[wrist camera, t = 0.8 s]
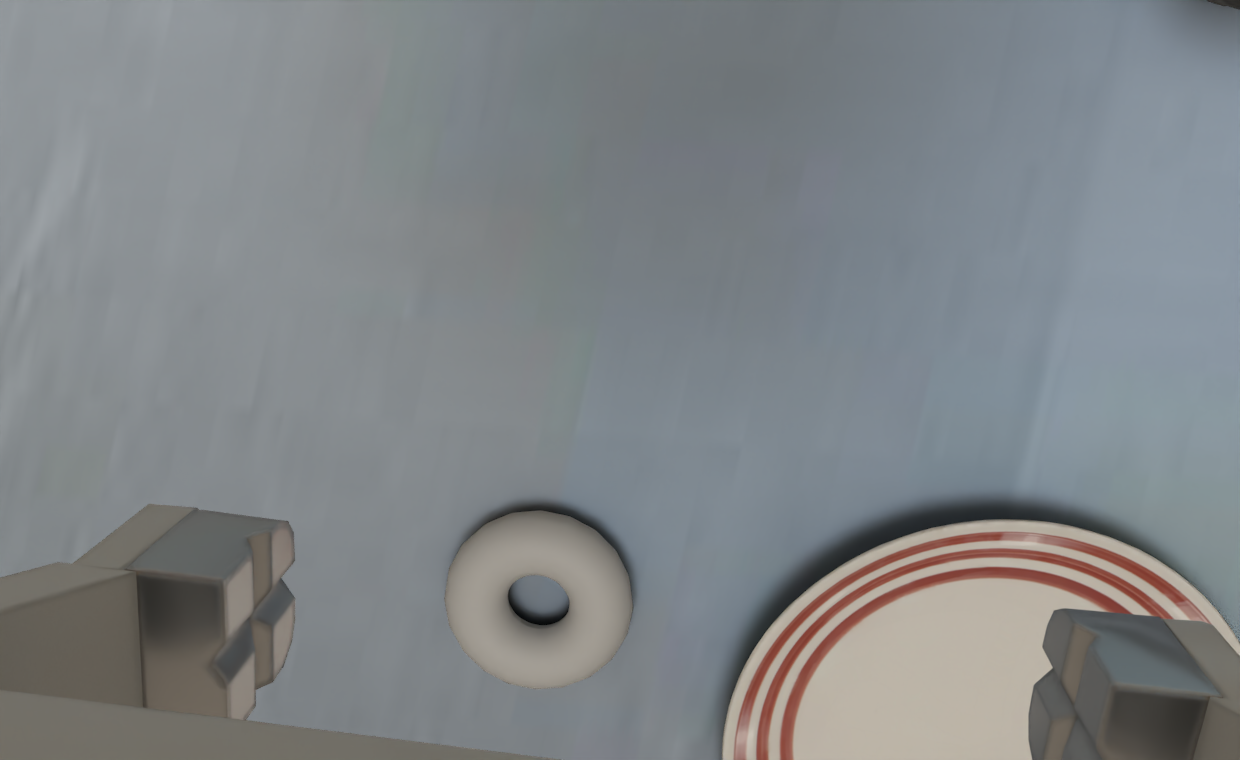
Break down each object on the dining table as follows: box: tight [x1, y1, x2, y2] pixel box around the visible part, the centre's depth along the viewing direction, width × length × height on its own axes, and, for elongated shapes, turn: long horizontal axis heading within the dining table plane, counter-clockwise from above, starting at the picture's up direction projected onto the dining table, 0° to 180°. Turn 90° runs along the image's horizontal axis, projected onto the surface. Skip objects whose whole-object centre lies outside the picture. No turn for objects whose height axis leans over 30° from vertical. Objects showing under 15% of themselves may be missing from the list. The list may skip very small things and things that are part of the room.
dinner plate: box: [722, 519, 1240, 760], centre depth 58 cm, size 27×27×3 cm
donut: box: [444, 510, 633, 689], centre depth 58 cm, size 10×4×10 cm
